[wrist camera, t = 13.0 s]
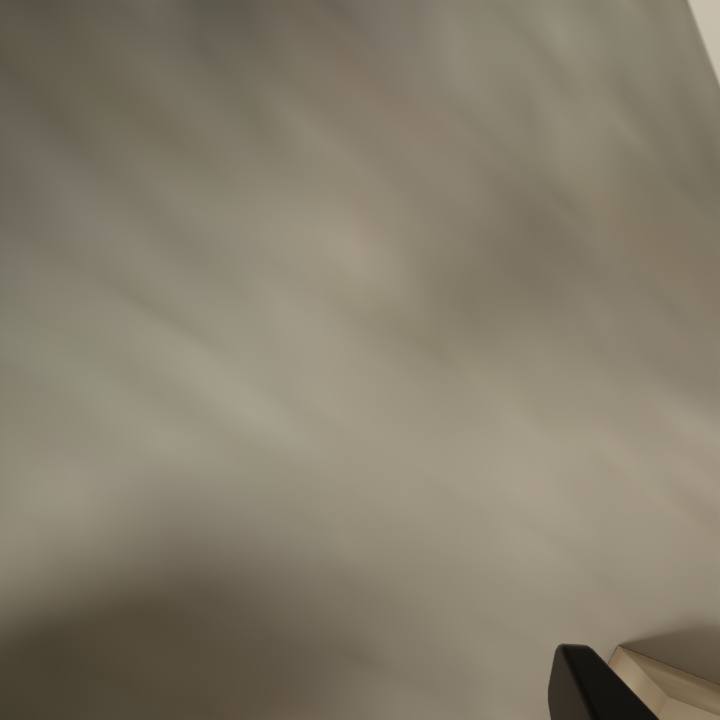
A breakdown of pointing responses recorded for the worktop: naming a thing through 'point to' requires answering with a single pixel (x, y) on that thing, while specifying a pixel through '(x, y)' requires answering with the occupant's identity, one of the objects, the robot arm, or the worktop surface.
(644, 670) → the shallow cream tray
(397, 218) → the worktop surface
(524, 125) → the worktop surface
